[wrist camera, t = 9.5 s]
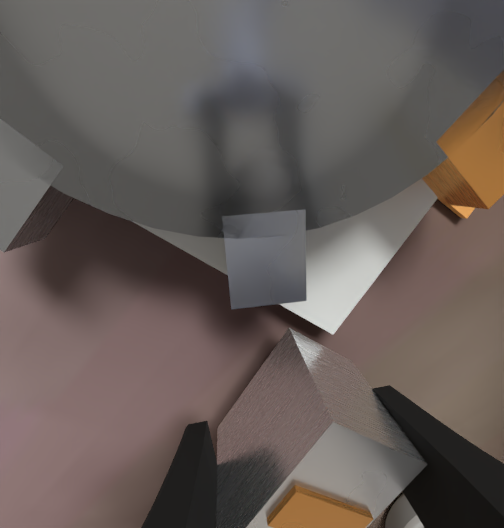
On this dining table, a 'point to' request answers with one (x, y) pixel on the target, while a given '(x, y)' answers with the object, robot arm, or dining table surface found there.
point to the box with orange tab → (309, 445)
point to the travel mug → (402, 515)
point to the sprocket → (246, 118)
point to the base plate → (337, 253)
